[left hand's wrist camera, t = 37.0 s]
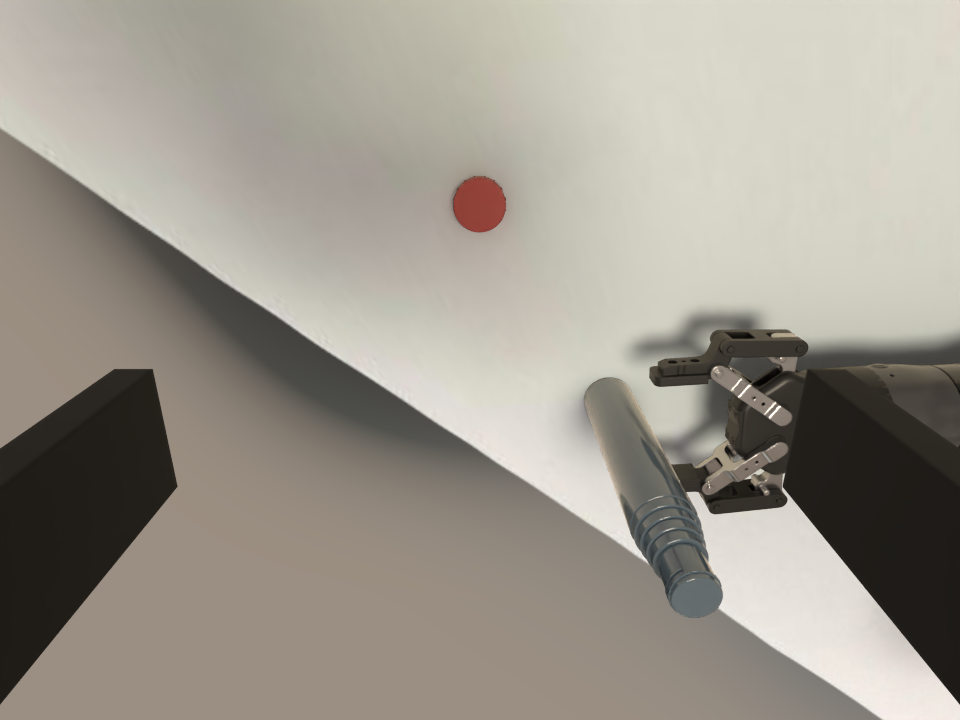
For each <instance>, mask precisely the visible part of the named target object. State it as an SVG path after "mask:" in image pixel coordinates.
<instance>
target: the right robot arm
mask: <svg viewBox="0 0 960 720" xmlns="http://www.w3.org/2000/svg"><path fill="white" fill-rule="evenodd" d="M710 342H711V344H710V346H709V348H708V350H707V352H706V353H705V354H704V355H702V356H699V357H687V358H674V359H672V358H671V359H664V360H661V361H659V362H658V366H653V367H650V374H649V378H650V379H651V381H652V382H653V384H654V385H655V386H659V387H665V386H682V385H698V384H708V379H713V380H714V381H716V382H717V383H719V384H720V385H722V386H723V387H725V388H726V389H728V390H729V391H731V392H732V393H733V394H734V396H733V398H732V400H728V413H729V421H728V423H727V426H726V433H725V436H726V438H727V439H728V440H727V441H725V442H724V443H722V444H721V445H719V446H718V447H717V448H715V450H714V453H713V455H712V456H710V457H709V458H707V459H706V460H704V461H703V462H701V463H700V464H698V465H697V466H696V467H693V465H692V464H676V465H671V466H672V467H673V469H674V471H675V473H676V475H677V477H678V478H679V480H680V482H681V484H682V486H683V488H684V489H685V491H686V492H699V494H700V495H701V497H702V498H703V500H704V502H705V504H706V505H707V508H708V509H709V511H710V512H711V513H712V514H723V513H732V512H742V511H751V510H760V509H770V508H779V507H782V506H784V505H785V504H786V503H787V497H786V496H785V494H784V493H783V491H782V475H783V474H784V473H786V468H787V463H788V458H789V454H790V449H791V444H792V439H793V435H794V430H795V425H796V420H797V416H798V411H799V406H800V402H801V397H802V392H803V387H804V383H805V378H806V373H807V369H806V370H802V371H797V370H796V366H797V361H798V357H801V356H803V355H804V354H805V353H806V352H807V350H808V344H807V343H806V342H805V341H803V340H802V339H800V338H799V337H797V336H796V335H795V334H793V333H792V332H790V331H789V330H716V331H714V332H713V333H712V334H711V336H710ZM732 357H766V358H768V359H769V360H770V361H771V362H772V363H775V364H777V367H774V368H772V369H770V370H769V371H767V372H766V373H764V374H763V375H761V376H760V377H758V378H757V379H755V380H754V381H752V380H751V379H749V378H748V377H746V376H745V375H743V374H742V373H740V372H739V371H737V370H736V369H734V368H733V367H731V366H729V362H730V360H731V358H732ZM820 369H846V370H847V371H849V372H850V373H852V374H853V375H855V376H856V377H858V378H859V379H860V380H862V381H863V382H865V383H866V384H868V385H869V386H870V387H872V388H873V389H875V390H876V391H878V392H879V393H881V394H882V395H883V396H885V397H886V398H888V399H889V400H891V401H892V402H893V403H895V404H896V405H898V406H899V407H901V408H902V409H904V410H905V411H906V412H908V413H909V414H911V415H912V416H914V417H915V418H916V419H918V420H919V421H921V422H922V423H924V424H925V425H927V426H928V427H929V428H931V429H932V430H934V431H935V432H937V433H938V434H939V435H941V436H942V437H944V438H945V439H947V440H948V441H950V442H951V443H952V444H954V445H955V446H957V447H958V448H960V363H955V364H939V365H906V364H885V365H884V364H871V365H868V366H852V367H837V368H820ZM736 454H738V455H740V456H741V457H743V459H741V460H740V461H738V462H733V457H734V456H735V455H736ZM760 468H761V469H763V470H764V472H763V473H762V474H760V475H756V474H753V473H754V472H756V471H757V470H759V469H760ZM751 474H753V475H752V476H751V478H752V479H746V480H744V479H745V478H747V477H748V476H750V475H751Z"/></svg>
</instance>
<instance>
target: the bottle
mask: <svg viewBox="0 0 960 720" xmlns="http://www.w3.org/2000/svg"><path fill="white" fill-rule="evenodd" d="M584 404H585V408H586V411H587V413H588V416H589V419H590V422H591V425H592V427H593V430H594V433H595V436H596V438H597V441H598V444H599V447H600V449H601V452H602V455H603V458H604V461H605V463H606V466H607V469H608V472H609V474H610V477H611V480H612V483H613V486H614V488H615V491H616V494H617V497H618V499H619V502H620V505H621V508H622V511H623V513H624V516H625V519H626V522H627V524H628V527H629V530H630V533H631V535H632V537H633V539H634V540H635V543H636V545H637V547H638V548H639V550H640V551H641V552H642V554H643V556H644V557H645V558H646V559H647V561H648V563H649V564H650V566H651V567H652V568H653V569H654V571H655V573H656V574H657V575H658V576H659V577H660V578H661V579H662V581H663V583H664V586H665V592H666V595H667V598H668V601H669V603H670V605H671V607H672V608H673V609H674V610H675V611H676V612H677V613H679V614H680V615H682V616H685V617H689V618H699V617H704V616H706V615H709V614H711V613H712V612H714V611H715V610H717V609H718V608H719V605H720V604H721V602H722V598H723V591H722V588H721V583H720V580H719V579H718V578H717V576H716V575H714V573H713V571H712V569H711V567H710V565H709V563H708V558H709V557H708V552H707V550H706V543H705V540H704V534H703V531H702V527H701V522H700V520H699V518H698V515H697V512H696V510H695V508H694V506H693V504H692V502H691V500H690V498H689V497H688V495H687V493H686V491H685V489H684V488H683V486H682V484H681V482H680V480H679V478H678V477H677V475H676V473H675V471H674V469H673V467H672V466H671V464H670V462H669V460H668V458H667V456H666V455H665V453H664V451H663V449H662V447H661V445H660V444H659V442H658V440H657V438H656V436H655V434H654V433H653V431H652V429H651V427H650V425H649V423H648V422H647V420H646V418H645V416H644V414H643V412H642V411H641V409H640V407H639V405H638V403H637V401H636V400H635V398H634V396H633V394H632V392H631V390H630V389H629V387H628V386H627V385H626V384H625V383H624V382H623V381H621V380H619V379H616V378H604V379H601V380H598V381H596V382H595V383H593V384H592V385H591V386H590V387H589V388H588V390H587V392H586V394H585V398H584Z"/></svg>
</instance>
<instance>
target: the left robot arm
mask: <svg viewBox="0 0 960 720" xmlns="http://www.w3.org/2000/svg"><path fill="white" fill-rule="evenodd" d="M176 488H177V482H176V477H175V473H174V468H173V463H172V458H171V454H170V449H169V444H168V439H167V435H166V430H165V425H164V421H163V416H162V411H161V406H160V402H159V397H158V392H157V387H156V383H155V378H154V373H153V369H114V370H113V371H111V372H110V373H108V374H107V375H105V376H104V377H103V378H101V379H100V380H98V381H97V382H95V383H94V384H92V385H91V386H90V387H88V388H87V389H85V390H84V391H82V392H81V393H80V394H78V395H77V396H75V397H74V398H72V399H71V400H69V401H68V402H67V403H65V404H64V405H62V406H61V407H59V408H58V409H57V410H55V411H54V412H52V413H51V414H49V415H48V416H46V417H45V418H44V419H42V420H41V421H39V422H38V423H36V424H35V425H34V426H32V427H31V428H29V429H28V430H26V431H25V432H23V433H22V434H21V435H19V436H18V437H16V438H15V439H13V440H12V441H10V442H9V443H8V444H6V445H5V446H3V447H2V448H0V704H1V703H2V702H3V700H4V699H5V698H6V697H7V695H8V694H9V693H10V692H11V690H12V689H13V688H14V687H15V686H16V684H17V683H18V682H19V681H20V679H21V678H22V677H23V676H24V675H25V673H26V672H27V671H28V670H29V668H30V667H31V666H32V665H33V663H34V662H35V661H36V660H37V659H38V657H39V656H40V655H41V654H42V652H43V651H44V650H45V649H46V648H47V646H48V645H49V644H50V643H51V641H52V640H53V639H54V638H55V636H56V635H57V634H58V633H59V631H60V630H61V629H62V628H63V627H64V625H65V624H66V623H67V622H68V620H69V619H70V618H71V617H72V615H73V614H74V613H75V612H76V611H77V609H78V608H79V607H80V606H81V604H82V603H83V602H84V601H85V600H86V598H87V597H88V596H89V595H90V593H91V592H92V591H93V590H94V589H95V587H96V586H97V585H98V584H99V582H100V581H101V580H102V579H103V577H104V576H105V575H106V574H107V573H108V571H109V570H110V569H111V568H112V566H113V565H114V564H115V563H116V562H117V560H118V559H119V558H120V557H121V555H122V554H123V553H124V552H125V550H126V549H127V548H128V547H129V546H130V544H131V543H132V542H133V541H134V539H135V538H136V537H137V536H138V534H139V533H140V532H141V531H142V530H143V528H144V527H145V526H146V525H147V523H148V522H149V521H150V520H151V518H152V517H153V516H154V515H155V514H156V512H157V511H158V510H159V509H160V507H161V506H162V505H163V504H164V503H165V501H166V500H167V499H168V498H169V496H170V495H171V494H172V493H173V491H174V490H175V489H176ZM783 488H784V489H785V490H786V491H787V493H788V494H789V495H790V496H791V498H792V499H793V500H794V501H795V503H796V504H797V505H798V506H799V507H800V509H801V510H802V511H803V512H804V514H805V515H806V516H807V517H808V519H809V520H810V521H811V522H812V523H813V525H814V526H815V527H816V528H817V530H818V531H819V532H820V533H821V534H822V536H823V537H824V538H825V539H826V541H827V542H828V543H829V544H830V546H831V547H832V548H833V549H834V550H835V552H836V553H837V554H838V555H839V557H840V558H841V559H842V560H843V562H844V563H845V564H846V565H847V566H848V568H849V569H850V570H851V571H852V573H853V574H854V575H855V576H856V577H857V579H858V580H859V581H860V582H861V584H862V585H863V586H864V587H865V589H866V590H867V591H868V592H869V593H870V595H871V596H872V597H873V598H874V600H875V601H876V602H877V603H878V605H879V606H880V607H881V608H882V609H883V611H884V612H885V613H886V614H887V616H888V617H889V618H890V619H891V620H892V622H893V623H894V624H895V625H896V627H897V628H898V629H899V630H900V632H901V633H902V634H903V635H904V636H905V638H906V639H907V640H908V641H909V643H910V644H911V645H912V646H913V648H914V649H915V650H916V651H917V652H918V654H919V655H920V656H921V657H922V659H923V660H924V661H925V662H926V663H927V665H928V666H929V667H930V668H931V670H932V671H933V672H934V673H935V675H936V676H937V677H938V678H939V679H940V681H941V682H942V683H943V684H944V686H945V687H946V688H947V689H948V691H949V692H950V693H951V694H952V695H953V697H954V698H955V699H956V700H957V702H958V703H959V704H960V448H958V447H957V446H955V445H954V444H952V443H951V442H950V441H948V440H947V439H945V438H944V437H942V436H941V435H939V434H938V433H937V432H935V431H934V430H932V429H931V428H929V427H928V426H927V425H925V424H924V423H922V422H921V421H919V420H918V419H916V418H915V417H914V416H912V415H911V414H909V413H908V412H906V411H905V410H904V409H902V408H901V407H899V406H898V405H896V404H895V403H893V402H892V401H891V400H889V399H888V398H886V397H885V396H883V395H882V394H881V393H879V392H878V391H876V390H875V389H873V388H872V387H870V386H869V385H868V384H866V383H865V382H863V381H862V380H860V379H859V378H858V377H856V376H855V375H853V374H852V373H850V372H849V371H847V370H846V369H807V373H806V378H805V383H804V387H803V392H802V397H801V402H800V406H799V411H798V416H797V420H796V425H795V430H794V435H793V439H792V444H791V449H790V454H789V458H788V463H787V468H786V473H785V477H784V482H783Z"/></svg>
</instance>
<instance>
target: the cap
mask: <svg viewBox="0 0 960 720" xmlns="http://www.w3.org/2000/svg"><path fill="white" fill-rule="evenodd" d="M453 201H454V212H455V215H456V218H457V220H458V221H459V222H460V224H461V225H462V226H464V227H465V228H466V229H468V230H470V231H474V232H486V231H489V230H491V229H493V228H495V227H496V226H497V225H498V224H499V223H500V222H501V221H502V219H503V217H504V214H505V211H506V202H505V201H506V198H505V197H504V194H503V192H502V188H500V186H499V185H498V184H497V183H496V182H495V180H494V181H493V180H491V179H489V178H487V177H485V176H484V177H475V176H474V177H473V178H470V179H468V180H465V182H464V183H463V184H462V185H461V186H460V187H459V188H458V189H457V192H456V195H455V197H454V200H453Z"/></svg>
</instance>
